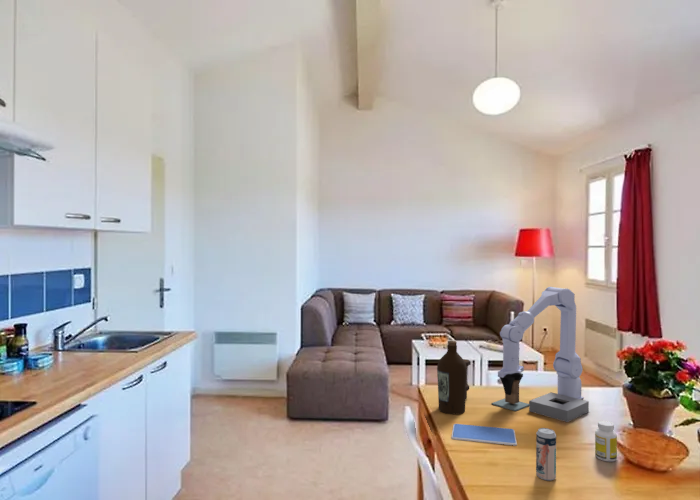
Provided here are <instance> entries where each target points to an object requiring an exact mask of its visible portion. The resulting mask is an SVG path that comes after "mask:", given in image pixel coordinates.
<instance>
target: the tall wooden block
mask: <svg viewBox="0 0 700 500" xmlns="http://www.w3.org/2000/svg"><path fill="white" fill-rule="evenodd" d="M504 398H505V402H508V403H512V404H515V403H518V402H519V401H520V383H519V381H518V380H514V381H513V385H512V392H511V395H508V394H505V393H504Z"/></svg>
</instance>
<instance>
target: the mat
mask: <svg viewBox="0 0 700 500" xmlns="http://www.w3.org/2000/svg"><path fill="white" fill-rule="evenodd" d="M491 405H493V406H496V407H500V408H501V409H502V408H503V409H506V410H510V411H514V412H518V411H521V410H523V409H525V408H527V407H529V403H527V402H523V401H520V400H519V402H518V403H515V404H512V403H508V402H505V397H504V398H501V399H499V400H497V401H493V402H491Z"/></svg>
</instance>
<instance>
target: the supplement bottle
mask: <svg viewBox="0 0 700 500" xmlns="http://www.w3.org/2000/svg"><path fill="white" fill-rule="evenodd" d="M614 429H615V424H614V423H613V422H612V421H611V422H610V421H607V420H599V421H598V422H597V429H596V430H595V433H594V451H595V452H594V455H595V457H596V459H598V460H601V461H603V462H615V461H617V459H618V451H617V450H618V449H617V448H618V440H617V439H618V435H617V432H616V431H615V430H614Z"/></svg>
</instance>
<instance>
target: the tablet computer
mask: <svg viewBox="0 0 700 500" xmlns="http://www.w3.org/2000/svg"><path fill="white" fill-rule="evenodd" d="M450 438H451V440H456V441H468V442H476V443H485V444H494V445H495V444H497V445H503V444H504V445H505V446H512V445H513V446H518V443H517V437H516V432H515V429H513V428H505V427H496V426H495V427H494V426H483V425H472V424H465V423H463V424H462V423H454V424H453V426H452V431H451V437H450Z"/></svg>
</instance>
